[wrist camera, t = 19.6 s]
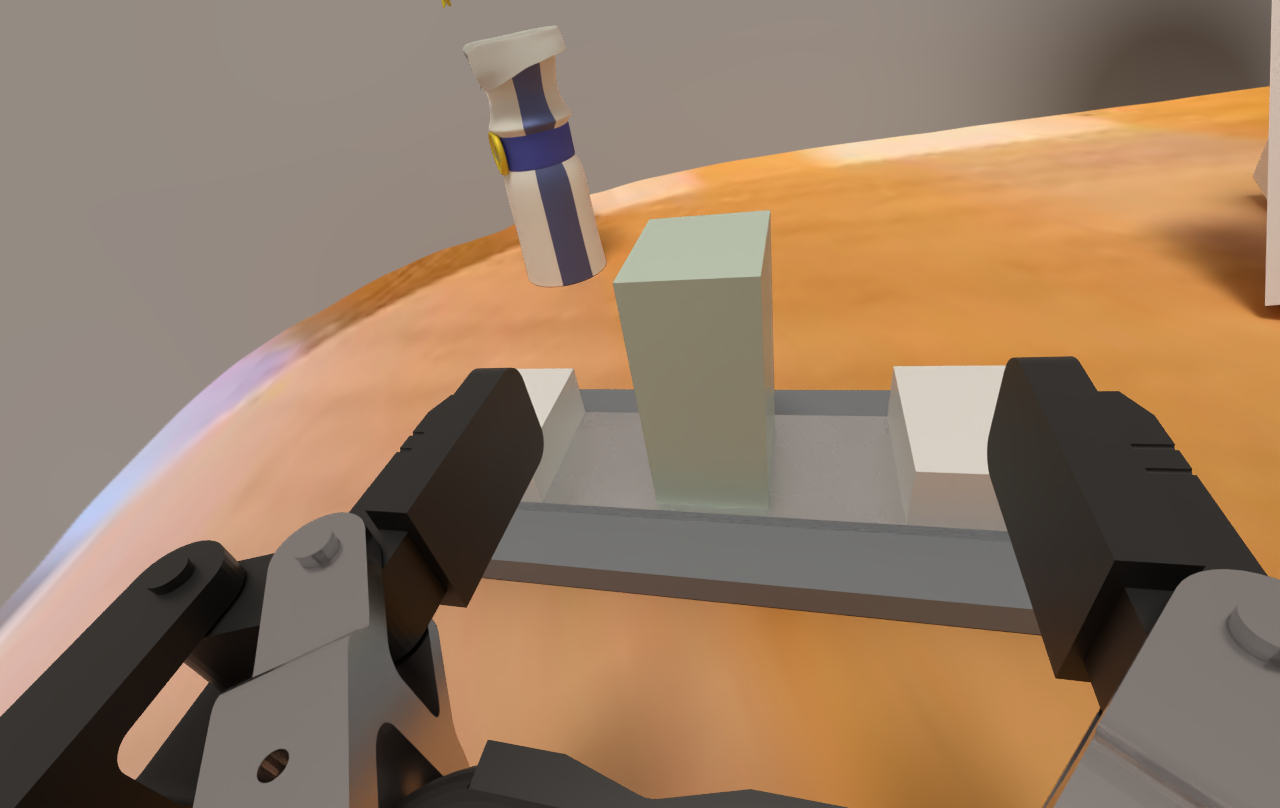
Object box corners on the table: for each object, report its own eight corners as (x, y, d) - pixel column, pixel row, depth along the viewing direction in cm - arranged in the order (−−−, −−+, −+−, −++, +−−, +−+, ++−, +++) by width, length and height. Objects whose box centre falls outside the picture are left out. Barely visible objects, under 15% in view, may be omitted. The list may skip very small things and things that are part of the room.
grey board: (1031, 414, 30) (1038, 391, 29) (1143, 645, 20) (1159, 621, 19) (499, 407, 38) (492, 388, 37) (393, 568, 28) (380, 548, 28)
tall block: (775, 419, 30) (770, 208, 23) (768, 510, 25) (760, 276, 18) (680, 417, 31) (650, 217, 24) (657, 503, 26) (613, 283, 20)
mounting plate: (1034, 428, 27) (1037, 418, 27) (1090, 547, 22) (1095, 537, 21) (487, 418, 35) (484, 410, 34) (430, 503, 30) (425, 495, 29)
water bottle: (536, 299, 51) (433, -56, 36) (516, 268, 58) (421, -43, 43) (621, 271, 53) (556, -77, 38) (592, 245, 60) (526, -61, 45)
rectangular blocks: (1023, 414, 27) (1039, 361, 25) (1080, 535, 22) (1105, 478, 20) (493, 407, 35) (477, 366, 33) (433, 496, 29) (410, 452, 27)
